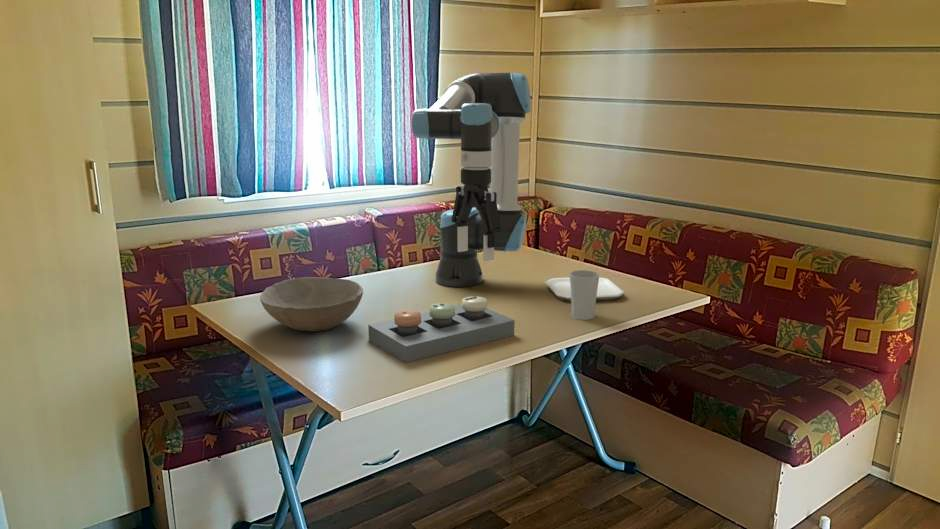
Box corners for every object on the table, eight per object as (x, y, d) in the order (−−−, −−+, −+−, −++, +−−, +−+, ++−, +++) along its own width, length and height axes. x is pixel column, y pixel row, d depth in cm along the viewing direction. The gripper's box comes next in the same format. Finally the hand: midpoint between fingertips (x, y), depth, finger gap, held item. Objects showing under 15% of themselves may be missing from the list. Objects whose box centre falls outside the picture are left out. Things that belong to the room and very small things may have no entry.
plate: (559, 305, 210) (560, 297, 210) (542, 285, 230) (542, 278, 230) (628, 302, 214) (628, 294, 213) (604, 282, 233) (605, 275, 233)
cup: (596, 321, 196) (599, 278, 193) (566, 319, 197) (568, 276, 194) (597, 312, 203) (600, 271, 200) (569, 310, 205) (570, 269, 202)
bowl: (316, 352, 173) (314, 312, 171) (240, 331, 187) (237, 294, 184) (385, 321, 195) (384, 285, 192) (312, 305, 208) (310, 271, 206)
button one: (389, 332, 178) (389, 312, 176) (412, 327, 181) (412, 307, 180) (403, 339, 172) (402, 319, 171) (426, 334, 176) (425, 314, 175)
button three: (457, 316, 189) (457, 298, 188) (477, 312, 192) (477, 294, 191) (471, 323, 184) (471, 304, 183) (491, 318, 187) (492, 300, 186)
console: (368, 339, 181) (368, 324, 180) (472, 316, 199) (472, 302, 198) (405, 362, 167) (405, 346, 166) (514, 334, 185) (514, 320, 184)
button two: (424, 324, 183) (424, 305, 182) (445, 319, 187) (445, 300, 186) (438, 331, 178) (438, 312, 177) (460, 326, 182) (460, 307, 180)
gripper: (437, 164, 185) (437, 248, 191) (492, 174, 167) (491, 267, 173) (461, 162, 189) (461, 244, 195) (517, 171, 171) (515, 262, 177)
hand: (475, 255), depth 184 cm, fingers open, 10 cm apart
